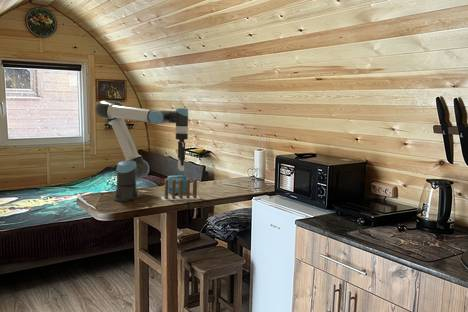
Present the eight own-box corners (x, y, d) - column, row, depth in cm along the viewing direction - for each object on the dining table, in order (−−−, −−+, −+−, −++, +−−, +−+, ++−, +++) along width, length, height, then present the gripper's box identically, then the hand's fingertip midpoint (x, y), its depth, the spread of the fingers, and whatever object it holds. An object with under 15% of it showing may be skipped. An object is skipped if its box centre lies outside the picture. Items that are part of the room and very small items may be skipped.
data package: (169, 194, 280) (169, 176, 279) (166, 193, 284) (167, 175, 283) (186, 193, 286) (186, 176, 285) (183, 192, 290) (183, 175, 289)
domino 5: (194, 198, 268) (194, 179, 266) (192, 196, 273) (193, 178, 271) (196, 198, 268) (197, 179, 267) (195, 196, 273) (195, 178, 272)
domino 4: (187, 198, 266) (187, 179, 265) (185, 196, 271) (186, 178, 270) (189, 198, 267) (189, 179, 266) (188, 196, 272) (188, 178, 270)
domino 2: (172, 198, 264) (173, 179, 263) (171, 197, 269) (171, 178, 267) (175, 198, 264) (175, 179, 263) (174, 197, 269) (174, 178, 268)
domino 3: (180, 198, 265) (180, 179, 264) (178, 196, 270) (179, 178, 269) (182, 198, 266) (182, 179, 264) (181, 196, 271) (181, 178, 269)
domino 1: (165, 199, 263) (165, 179, 261) (164, 197, 268) (164, 178, 266) (168, 198, 263) (168, 179, 262) (167, 197, 268) (167, 178, 267)
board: (162, 201, 260) (162, 200, 260) (160, 198, 269) (160, 196, 269) (200, 200, 267) (200, 198, 266) (197, 197, 276) (197, 195, 276)
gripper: (190, 134, 255) (189, 172, 258) (185, 132, 273) (184, 167, 276) (178, 134, 253) (177, 172, 256) (173, 131, 271) (172, 167, 274)
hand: (181, 169), depth 266 cm, fingers open, 6 cm apart
